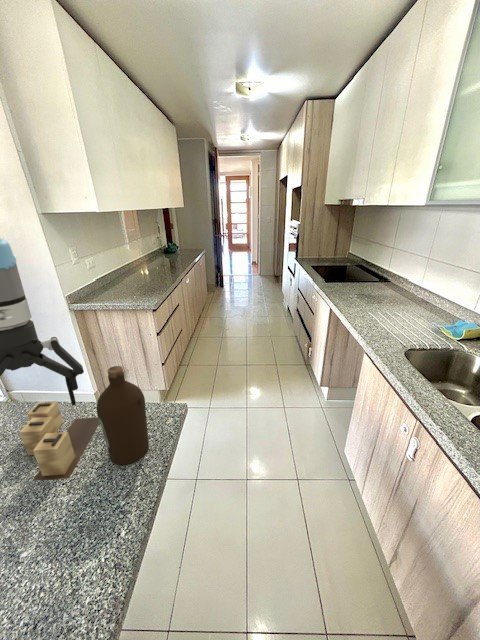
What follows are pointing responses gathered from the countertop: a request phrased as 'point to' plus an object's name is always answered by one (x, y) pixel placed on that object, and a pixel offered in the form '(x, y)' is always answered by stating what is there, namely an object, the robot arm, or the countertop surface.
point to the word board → (76, 444)
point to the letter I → (36, 432)
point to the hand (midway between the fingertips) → (37, 413)
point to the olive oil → (123, 419)
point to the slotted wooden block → (47, 412)
